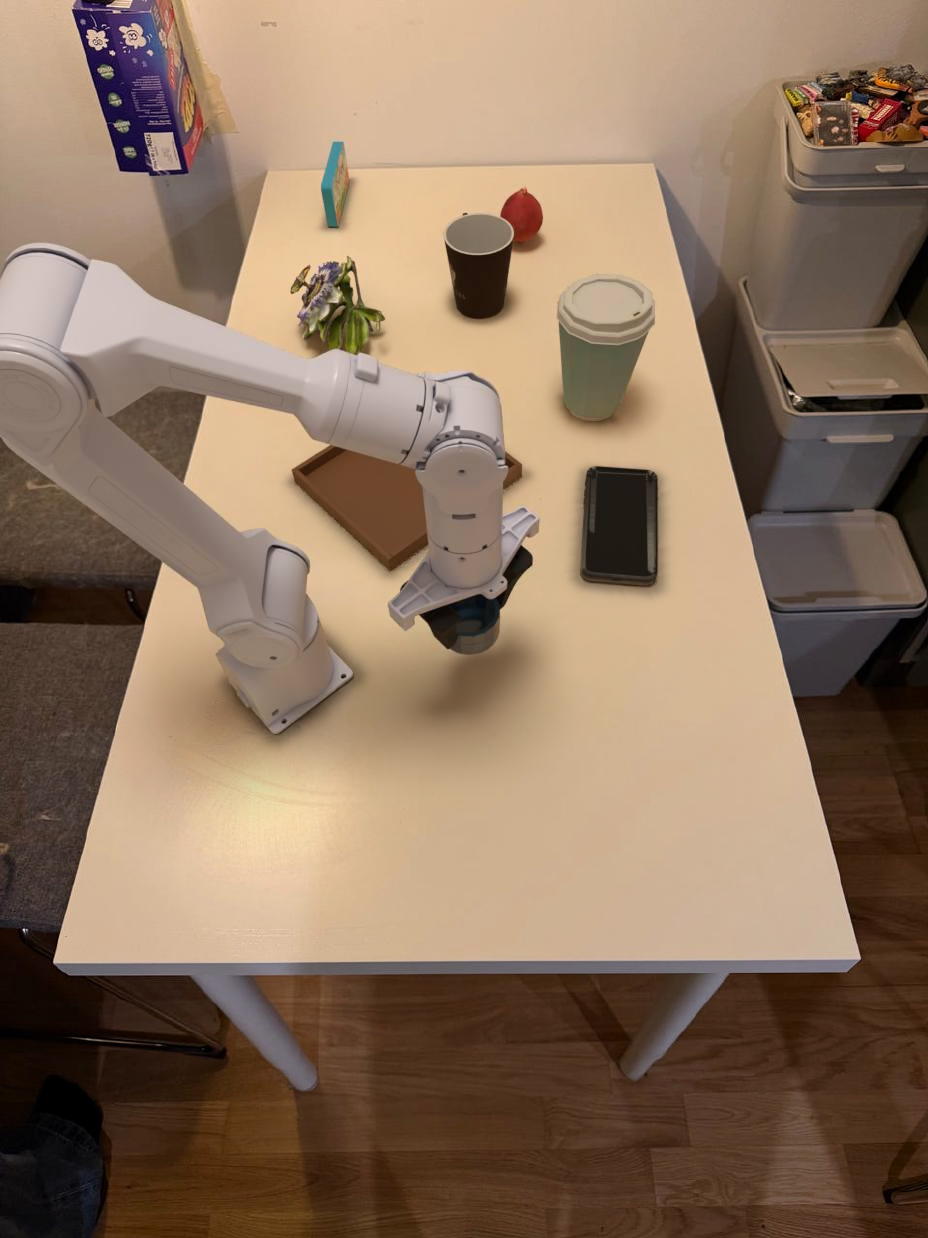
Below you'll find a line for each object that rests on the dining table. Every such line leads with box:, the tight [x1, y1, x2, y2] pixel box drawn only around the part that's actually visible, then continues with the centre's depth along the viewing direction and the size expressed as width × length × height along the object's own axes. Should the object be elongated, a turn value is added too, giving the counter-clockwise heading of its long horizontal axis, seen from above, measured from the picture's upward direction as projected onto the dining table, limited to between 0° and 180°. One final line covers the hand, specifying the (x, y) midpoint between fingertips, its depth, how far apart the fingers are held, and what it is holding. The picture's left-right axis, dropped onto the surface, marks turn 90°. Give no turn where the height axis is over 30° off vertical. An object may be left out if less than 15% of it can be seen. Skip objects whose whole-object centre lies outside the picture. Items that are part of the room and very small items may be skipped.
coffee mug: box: [443, 212, 514, 320], centre depth 108 cm, size 12×9×10 cm
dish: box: [449, 594, 501, 656], centre depth 74 cm, size 5×5×3 cm
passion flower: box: [289, 255, 386, 355], centre depth 105 cm, size 11×11×12 cm
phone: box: [579, 465, 659, 587], centre depth 90 cm, size 8×1×15 cm
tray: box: [291, 444, 523, 572], centre depth 94 cm, size 19×17×2 cm
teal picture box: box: [320, 141, 350, 228], centre depth 122 cm, size 12×2×6 cm, turn 176°
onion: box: [499, 186, 544, 244], centre depth 115 cm, size 6×6×8 cm
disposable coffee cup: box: [555, 273, 656, 422], centre depth 94 cm, size 11×11×15 cm
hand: (468, 621), depth 74 cm, fingers closed on dish, 5 cm apart
